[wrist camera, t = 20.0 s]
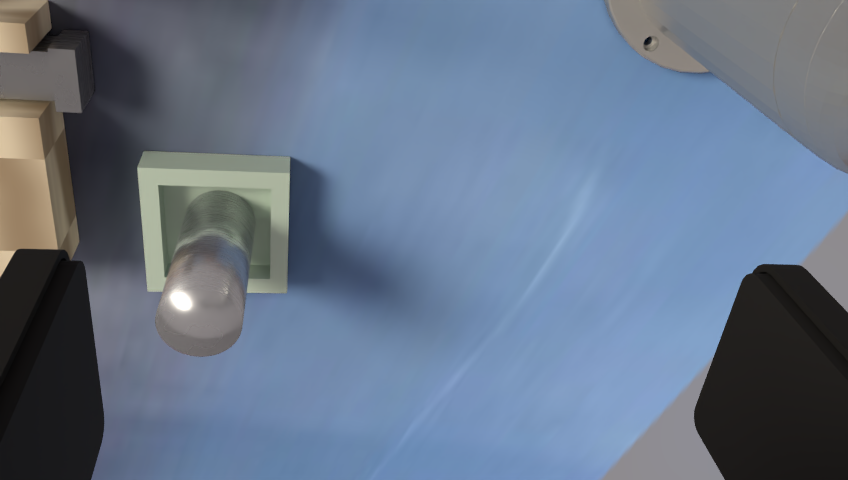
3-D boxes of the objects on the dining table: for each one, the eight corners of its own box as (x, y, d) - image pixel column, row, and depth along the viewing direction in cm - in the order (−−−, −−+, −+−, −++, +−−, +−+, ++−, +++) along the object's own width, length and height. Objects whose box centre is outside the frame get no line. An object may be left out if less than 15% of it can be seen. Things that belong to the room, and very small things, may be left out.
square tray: (290, 156, 46) (289, 173, 44) (287, 273, 50) (286, 293, 48) (143, 150, 45) (137, 167, 43) (153, 271, 49) (147, 291, 47)
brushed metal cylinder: (256, 192, 46) (242, 289, 38) (255, 251, 48) (241, 357, 39) (184, 188, 45) (153, 286, 37) (185, 248, 47) (157, 355, 39)
